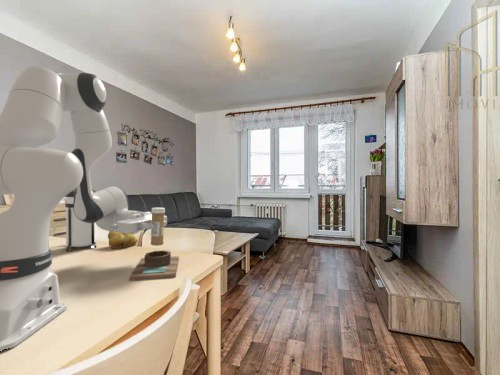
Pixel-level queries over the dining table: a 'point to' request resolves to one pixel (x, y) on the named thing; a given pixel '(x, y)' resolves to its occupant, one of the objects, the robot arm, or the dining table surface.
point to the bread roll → (121, 239)
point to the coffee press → (78, 228)
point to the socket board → (156, 266)
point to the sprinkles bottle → (157, 226)
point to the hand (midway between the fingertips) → (159, 224)
